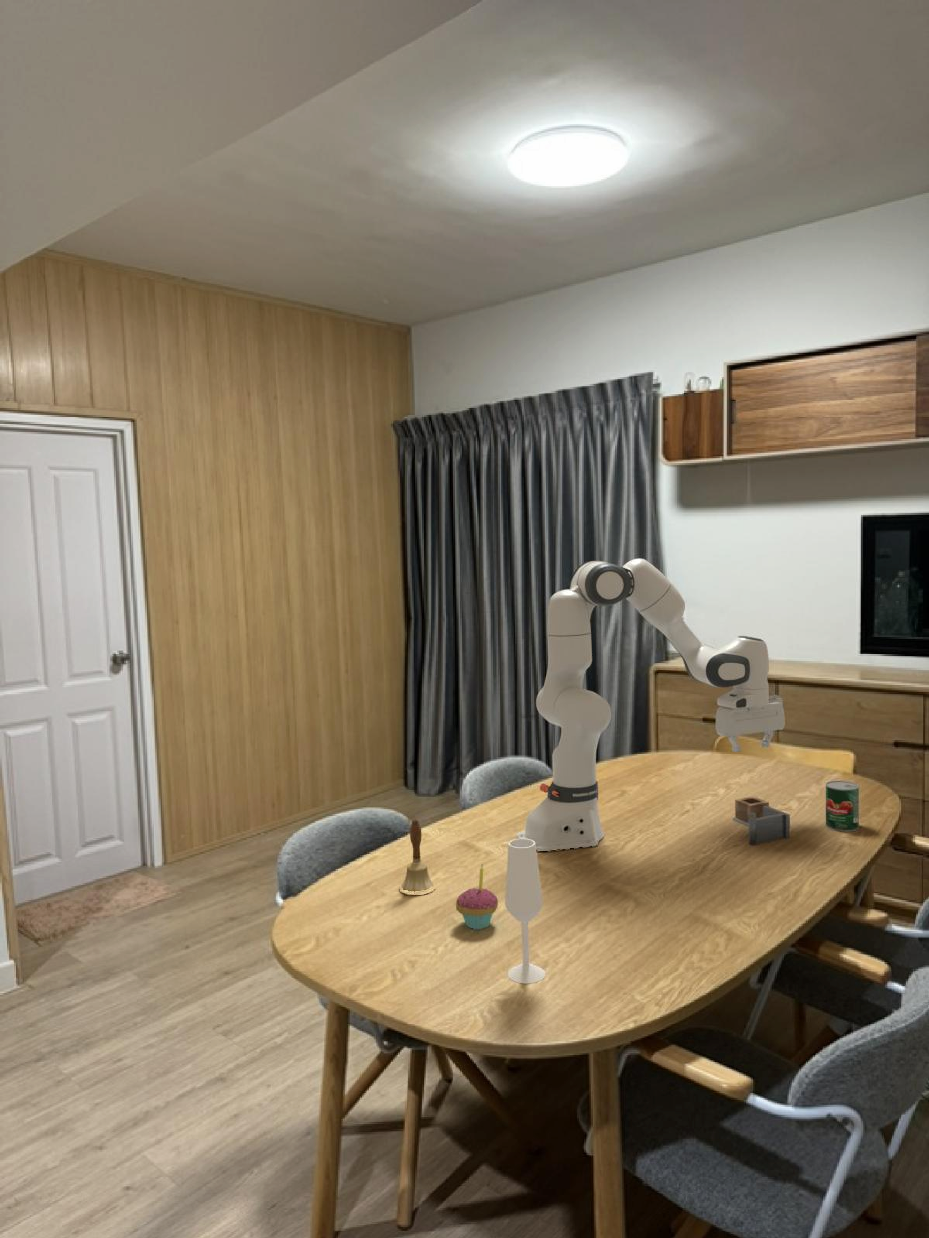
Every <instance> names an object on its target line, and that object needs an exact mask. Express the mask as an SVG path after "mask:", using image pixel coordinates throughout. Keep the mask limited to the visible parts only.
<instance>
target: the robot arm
mask: <svg viewBox="0 0 929 1238" xmlns="http://www.w3.org/2000/svg"><path fill="white" fill-rule="evenodd" d="M623 600H627V601H628V602H629V603H630V604H631V605H632V606H633V607H634V608H635V610H636V611H637V612H638V613H639V614H640V615H641V616H642V617H643V618H644V619H645V620H646V621H647V622H648V623H650V624H651V625H652V626H653V627H655V629H657V630H659V632H660V633H662V635H663V636H664V637H665V638H666V639H667V640H668V642H669V643H670V644H671V645H672V646H673V648H674V649H675V650H676V652H677V653H678V654H679V656H680V657H681V658H682V662H683V664H684V667H685V671H686V672H687V674H688V675H689V677H690V678H691V679H692V680H694V681H696V682H698V683H703V684H707V685H709V686H711V687H716V688H720V689H724V688H725V689H726V688H729V687H733V689H732V690H730V691H728V692H726V693H724V694H723V695H721V696H719V697H717V699H716V703H717V706H718V708H717V710H716V714H715V731H716V734H718V735H719V736H721V737H724V738H728V740H729V742H730V744H731V751H732V752H734V753H739V752H742V749H741V748H742V745H741V744H739V743H738V741H737V740H738V739H739V736H742V735H743V736H744V735H750V734H757V733H763V734H764V736H763V739H762V740H760V747H761V748H763V749H768V748H769V749H770V745H771V744H770V741H771V740H772V738H773V737H774V731H781V730H783V729H784V728H785V726H786V716H785V709H784V706H783V704H784V701H783V698H782V697H781V696H779V695H778V694H773V695H769V694H770V690H769V689H770V686H769V685H770V684H769V682H768V675H769V672H770V669H769V668H770V665H769V664H770V663H769V662H770V661H769V660H770V659H769V658H770V657H769V651H768V645H767V643H766V642H765V641H764V639H761V638H757V637H753V636H746V635H739V636H736V637H735V639H733V641H731V642H729V643H728V644H726V645H725V646H722V647H720V648H715V647H712V646H710V645H707V644H705V643H703V642H702V641H700V639H699V638H698V637H697V635H695V633H694V632H693V631H692V630H691V628H690V627H689V626H688V625H687V624H686V622H685V621H684V618H683V616H684V613H685V610H686V604H685V603H686V602H685V600H684V598H683V597H682V595H681V593H680V591H679V590H678V588H676V586H675V585H674V584H673V583H672V582H671V581H670V580H669V579H668V578H667V576H666V575H665V574H663V572H661V571H660V570H659V569H658V568H657V567H655V566H654V565H653V564H652V563H651V562H649V561H648V560H646V559H645V558H633V559H631V560H629V561H628V562H626V563H625V564H624V565H622V566H620V565H617V564H615V563H614V564H613V563H610V562H606V561H603V560H590V561H586V562H585V561H584V562H583V563H581V564H580V565H578V566H577V568H576V569H575V570H574V572H573V574H572V576H571V579H570V580H569V582H568V584H567V586H566V589H562V590H559V591H557V592H555V593H553V595H552V596H550V598H549V602H548V609H547V619H546V620H547V621H546V624H547V625H546V629H547V631H546V632H547V637H546V638H547V660H548V661H547V671H546V676H545V680H544V685H543V686H542V688H541V689H540V690H539V692H538V694H537V695H536V700H535V701H536V702H535V705H536V709H537V711H538V714H539V715H540V716H541V717H542V718H543V719H545V720H546V721H547V722H548V723H550V724H552V725H555V726H557V727H559V728H561V734H560V739H559V742H558V746H556V747H555V748H554V750H553V751H552V755H551V756H552V757H551V758H552V781H551V783H550V785H547V784H546V783H545V782H544V783H541V784H540V785H539V790H540V791H541V792H543V793H545V794H546V793H547V795H546V796H547V797H545V799H543V800H542V801H541V802H540V803H539V804H538V805H537V806H536V807H535V808H533V810H531V811H530V812H529V813H528V815H527V817H526V821H525V830H522V831H518V832H517V836H516V837H517V838H518V839H530V840H533V841H535V845H536V850H538V851H537V852H539V850H540V851H548V850H554V849H565V850H571V849H570V848H574V849H580V848H579V847H583V848H589V847H590V846H592V847H596V845H597V846H598V845H599V842H600V841H601V840H602V839H603V838H604V836H605V833H604V830H603V826H602V822H601V819H600V813H599V806H598V801H599V785H598V784H599V783H598V781H597V766H596V764H597V760H596V759H597V749H598V743H599V741H600V738H601V734H602V732H604V731H605V730H606V729H607V728H608V726H609V724H610V721H611V719H612V709H611V705H610V703H608V701H607V699H605V698H604V697H602V696H601V695H600V694H598V693H596V692H594V691H592V690H588V689H585V688H583V685H584V678H585V674H586V671H587V669H588V668H590V666H591V665H592V662H593V656H592V655H593V653H592V652H593V650H592V649H593V648H592V631H591V629H592V628H591V626H592V625H591V621H590V620H591V617H592V613H593V610H594V608H595V607H596V606H602V607H609V606H613V605H617V604H618V603H620V602H622V601H623ZM517 838H516V839H517ZM548 852H549V851H548Z"/></svg>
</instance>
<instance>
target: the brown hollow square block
mask: <svg viewBox="0 0 929 1238" xmlns="http://www.w3.org/2000/svg"><path fill="white" fill-rule="evenodd" d="M769 804H770V802H769V801H767V800H764V799H761V798H758V797H755V796H747V797H742V798H737V799H734V808H735V809H734V810H735V811H734V812H735V813H734V815H735V816H734V817H735V818H737V819H739V820H742V821H744V822H746V823H749V813H756V818H760V817H763V806H769V807H770V805H769Z"/></svg>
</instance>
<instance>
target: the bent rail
mask: <svg viewBox="0 0 929 1238" xmlns="http://www.w3.org/2000/svg"><path fill="white" fill-rule="evenodd" d="M790 819H791V815H790V814H789V813H787V812H785V811H781V810H779V809H776V808H773V807H771V806H770V805H769V806H763V817H760V818H756V813H749V827H748V844H749V845H751V846H756V845H758V844H762V843H763V842H764V843H767V842H772V841H777V840H782V839H785V838H786V840H787V839H790V838H791V836H790V835H791V822H790V821H791V820H790Z"/></svg>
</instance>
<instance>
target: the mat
mask: <svg viewBox="0 0 929 1238" xmlns="http://www.w3.org/2000/svg"><path fill="white" fill-rule="evenodd" d="M732 821H735V822H737V823H740V824H742V825H744V826H746V827H748V828H749V823H746V822H744V821H742V820H739V819H737V818H735V816H734V817H732Z"/></svg>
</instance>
